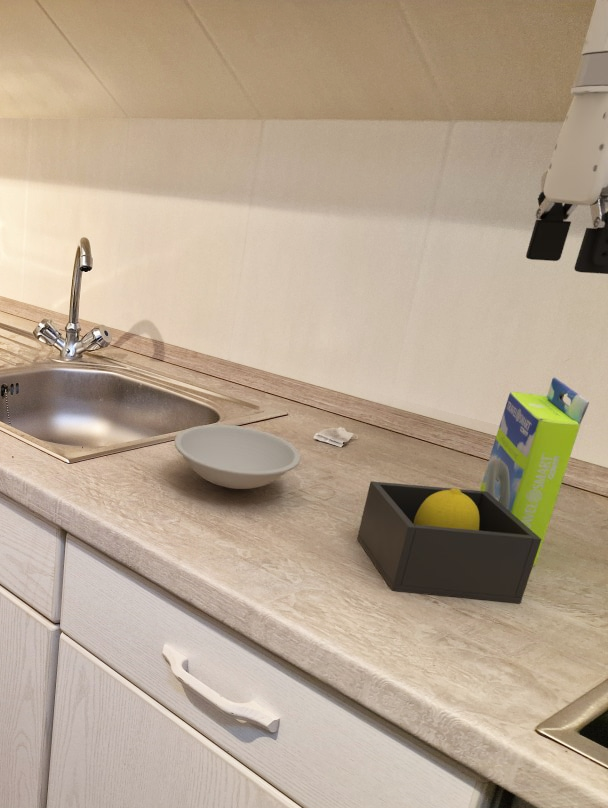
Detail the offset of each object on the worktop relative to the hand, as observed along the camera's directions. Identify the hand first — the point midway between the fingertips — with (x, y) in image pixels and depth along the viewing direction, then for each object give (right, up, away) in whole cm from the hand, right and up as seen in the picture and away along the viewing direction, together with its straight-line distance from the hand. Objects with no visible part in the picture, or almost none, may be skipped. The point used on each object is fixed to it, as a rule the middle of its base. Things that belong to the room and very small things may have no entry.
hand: (566, 265), depth 85 cm
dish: (-28, -22, +17) cm, 40 cm away
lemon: (-14, -30, -1) cm, 33 cm away
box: (-3, -28, +5) cm, 29 cm away
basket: (-14, -30, -1) cm, 33 cm away
